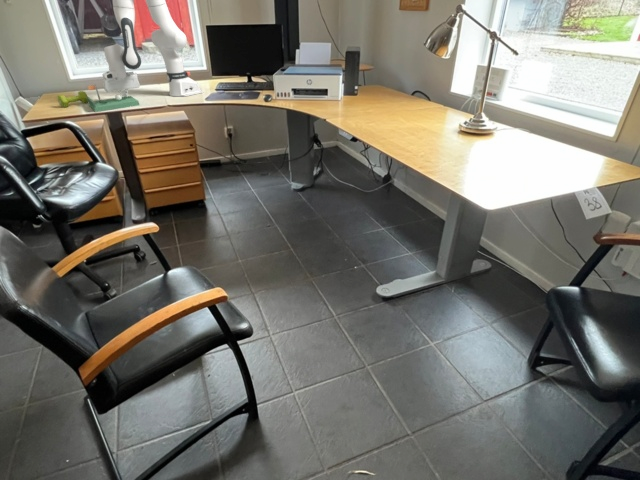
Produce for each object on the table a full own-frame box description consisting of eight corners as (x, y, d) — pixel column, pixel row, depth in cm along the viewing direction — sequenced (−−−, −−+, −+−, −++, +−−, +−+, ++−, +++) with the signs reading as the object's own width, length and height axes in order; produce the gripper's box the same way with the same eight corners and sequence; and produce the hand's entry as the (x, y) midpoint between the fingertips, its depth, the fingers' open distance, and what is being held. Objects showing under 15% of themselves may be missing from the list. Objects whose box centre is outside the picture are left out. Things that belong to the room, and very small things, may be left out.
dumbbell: (64, 108, 234) (59, 96, 230) (58, 106, 238) (54, 94, 234) (91, 103, 245) (87, 91, 241) (85, 101, 249) (81, 89, 245)
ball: (122, 96, 239) (116, 92, 237) (123, 97, 237) (117, 93, 234) (119, 101, 240) (113, 97, 237) (120, 102, 237) (114, 98, 235)
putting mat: (131, 99, 250) (126, 80, 243) (139, 105, 238) (134, 84, 231) (89, 106, 237) (82, 85, 231) (95, 112, 225) (88, 90, 219)
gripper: (134, 70, 239) (140, 93, 246) (99, 74, 229) (106, 98, 236) (137, 71, 235) (143, 95, 242) (101, 76, 224) (109, 100, 232)
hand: (125, 97), depth 239 cm, fingers closed
